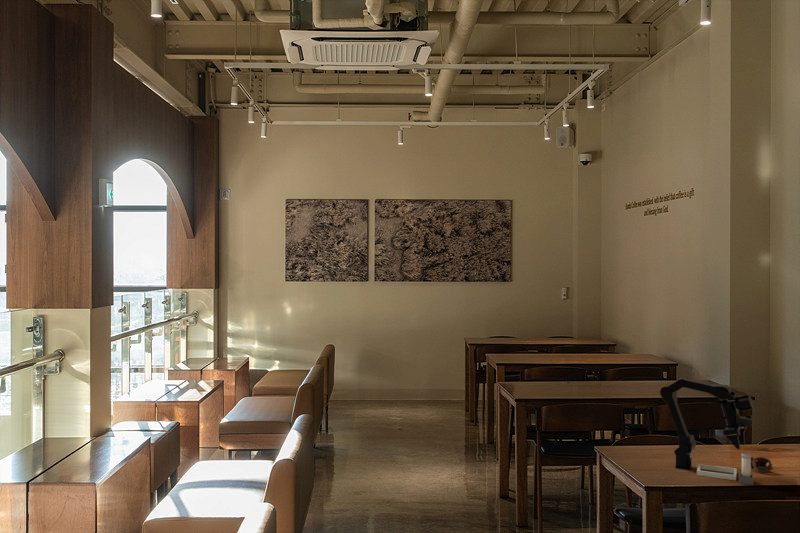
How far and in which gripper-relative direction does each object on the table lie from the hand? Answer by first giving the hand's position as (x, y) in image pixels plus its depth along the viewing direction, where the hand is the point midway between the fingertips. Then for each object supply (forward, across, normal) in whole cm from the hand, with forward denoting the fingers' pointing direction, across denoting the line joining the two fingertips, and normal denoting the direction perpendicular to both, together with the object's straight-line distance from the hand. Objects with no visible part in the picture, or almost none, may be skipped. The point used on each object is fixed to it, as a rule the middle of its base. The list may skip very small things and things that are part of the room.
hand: (741, 446), depth 307 cm
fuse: (+14, -9, 0) cm, 16 cm away
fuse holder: (+15, -9, 0) cm, 17 cm away
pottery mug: (+15, +15, 0) cm, 21 cm away
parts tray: (+11, -4, +13) cm, 17 cm away
